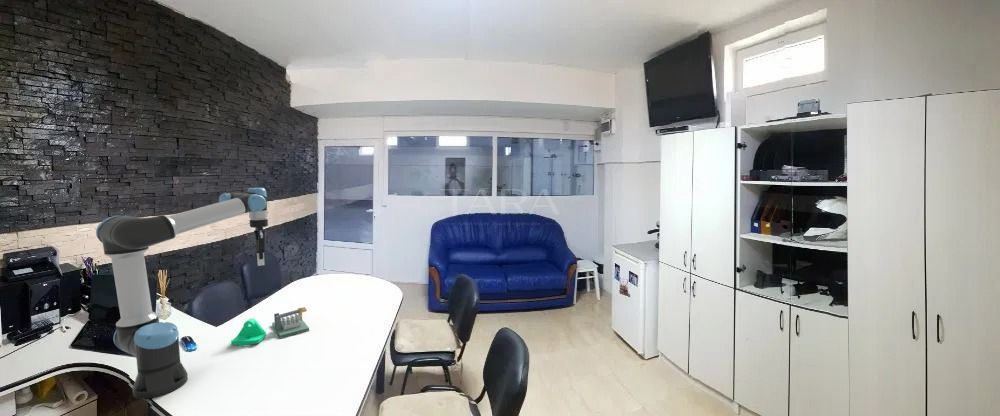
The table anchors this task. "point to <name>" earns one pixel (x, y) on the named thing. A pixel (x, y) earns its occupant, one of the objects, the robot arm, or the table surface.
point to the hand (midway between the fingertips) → (261, 265)
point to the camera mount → (249, 334)
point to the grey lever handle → (293, 312)
